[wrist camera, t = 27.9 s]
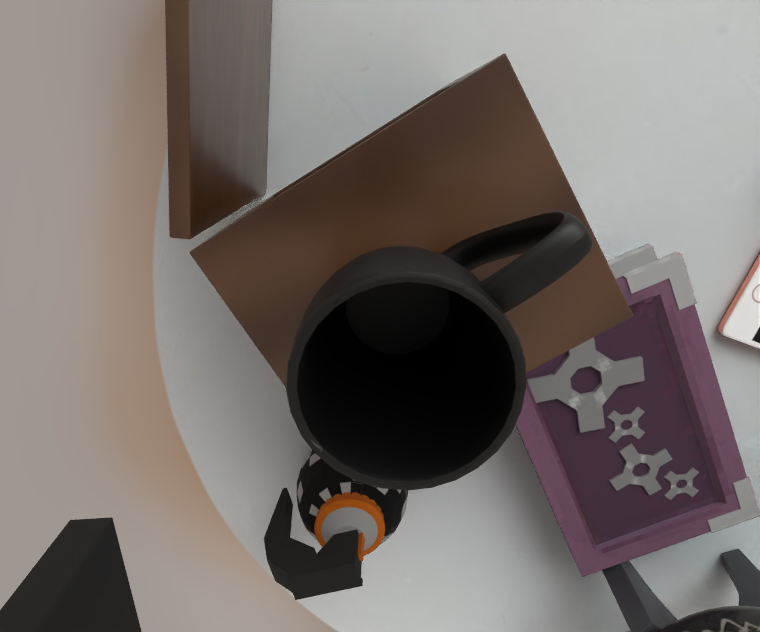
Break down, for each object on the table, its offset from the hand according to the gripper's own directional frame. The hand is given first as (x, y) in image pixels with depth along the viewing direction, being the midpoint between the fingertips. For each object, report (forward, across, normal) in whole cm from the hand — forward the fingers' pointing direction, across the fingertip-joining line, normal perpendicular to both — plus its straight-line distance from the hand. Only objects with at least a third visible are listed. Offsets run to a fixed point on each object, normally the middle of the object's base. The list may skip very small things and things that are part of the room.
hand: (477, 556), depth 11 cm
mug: (+19, +1, 0) cm, 19 cm away
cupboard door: (+39, -13, +12) cm, 42 cm away
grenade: (+39, -6, -22) cm, 45 cm away
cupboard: (+39, 0, 0) cm, 39 cm away
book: (+39, +18, -18) cm, 46 cm away
